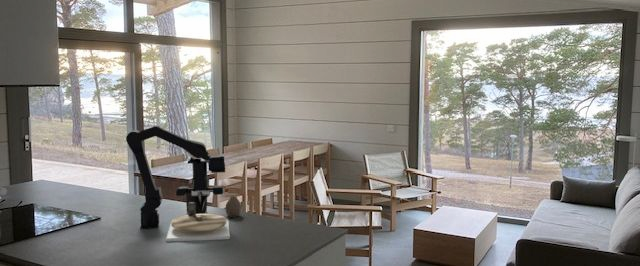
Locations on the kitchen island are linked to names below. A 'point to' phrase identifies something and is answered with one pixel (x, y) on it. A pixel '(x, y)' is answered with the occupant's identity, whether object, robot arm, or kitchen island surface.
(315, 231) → the kitchen island surface
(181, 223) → the handwheel
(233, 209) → the vase
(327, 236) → the kitchen island surface
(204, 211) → the pen holder
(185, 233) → the base plate
